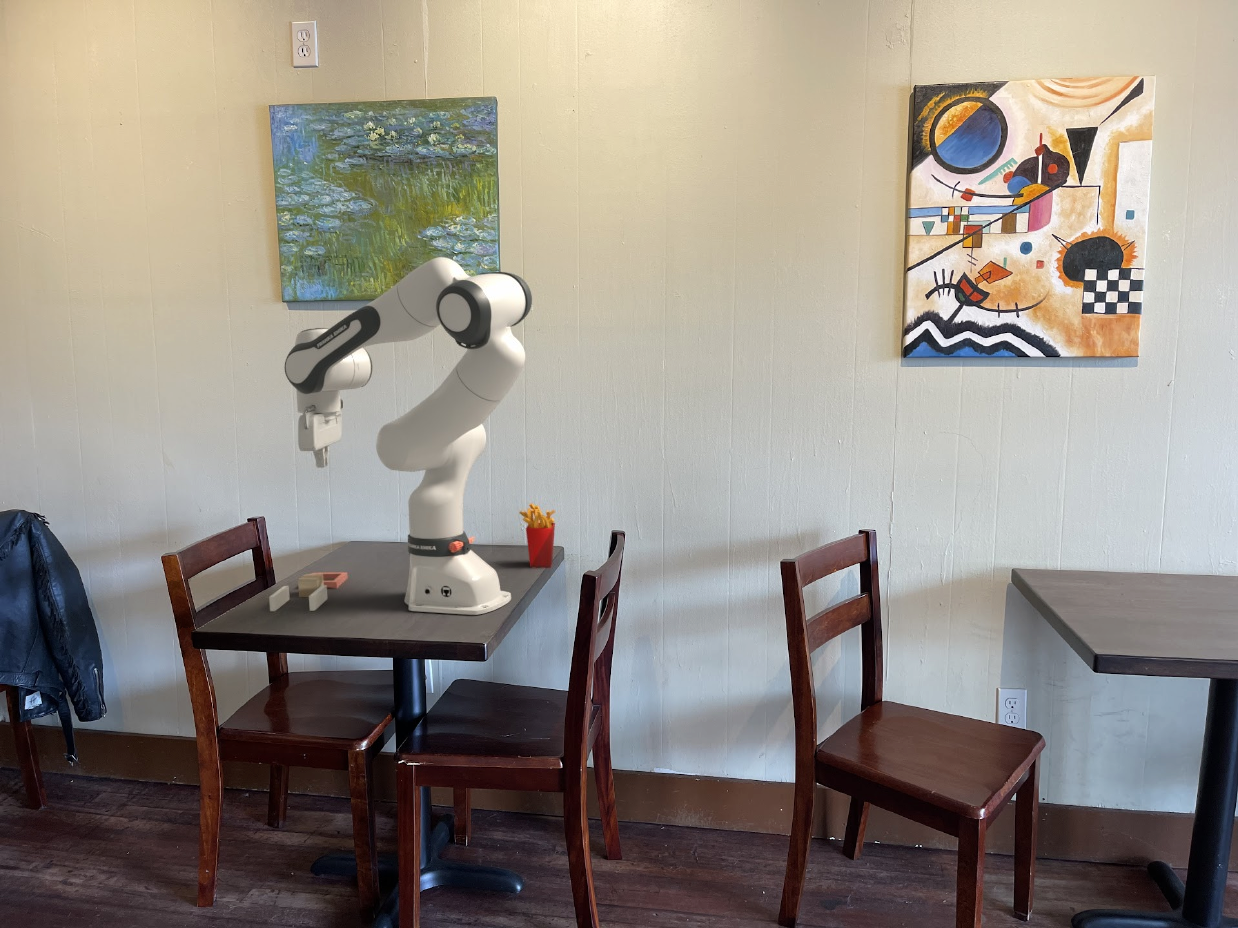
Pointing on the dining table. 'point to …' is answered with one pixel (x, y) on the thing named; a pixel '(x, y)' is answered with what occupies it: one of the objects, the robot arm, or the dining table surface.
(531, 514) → the french fries
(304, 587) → the beech block
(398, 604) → the dining table surface
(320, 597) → the walled lane
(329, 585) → the frame
